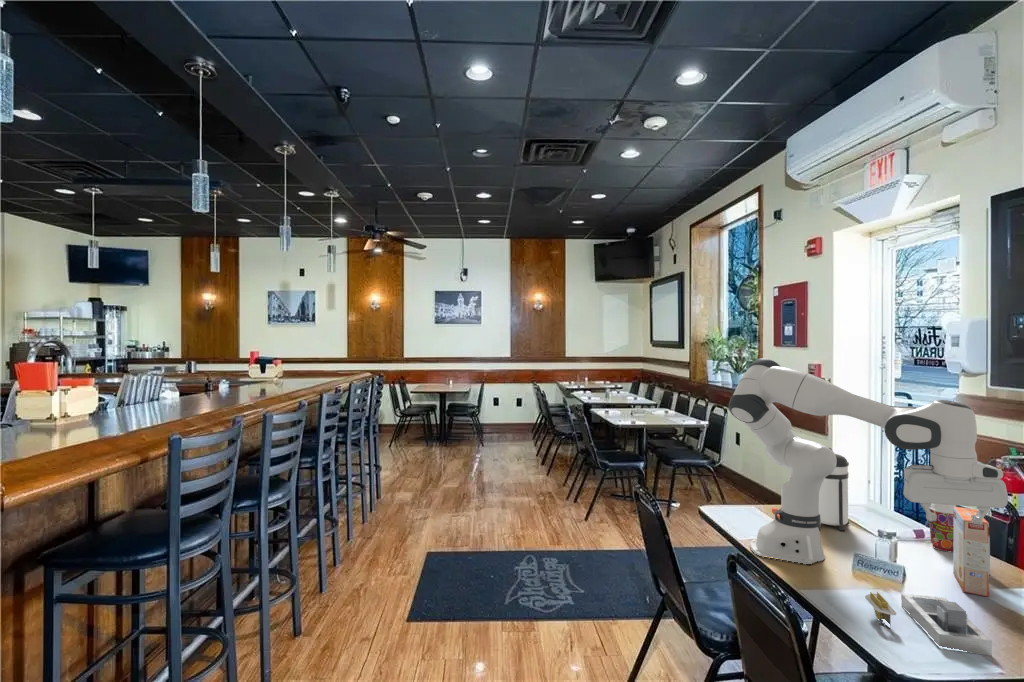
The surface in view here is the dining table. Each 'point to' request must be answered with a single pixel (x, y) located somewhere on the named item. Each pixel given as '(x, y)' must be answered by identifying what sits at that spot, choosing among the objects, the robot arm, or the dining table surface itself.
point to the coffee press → (835, 496)
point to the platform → (880, 606)
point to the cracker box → (971, 552)
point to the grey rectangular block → (951, 617)
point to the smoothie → (942, 527)
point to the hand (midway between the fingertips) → (953, 522)
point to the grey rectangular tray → (926, 616)
